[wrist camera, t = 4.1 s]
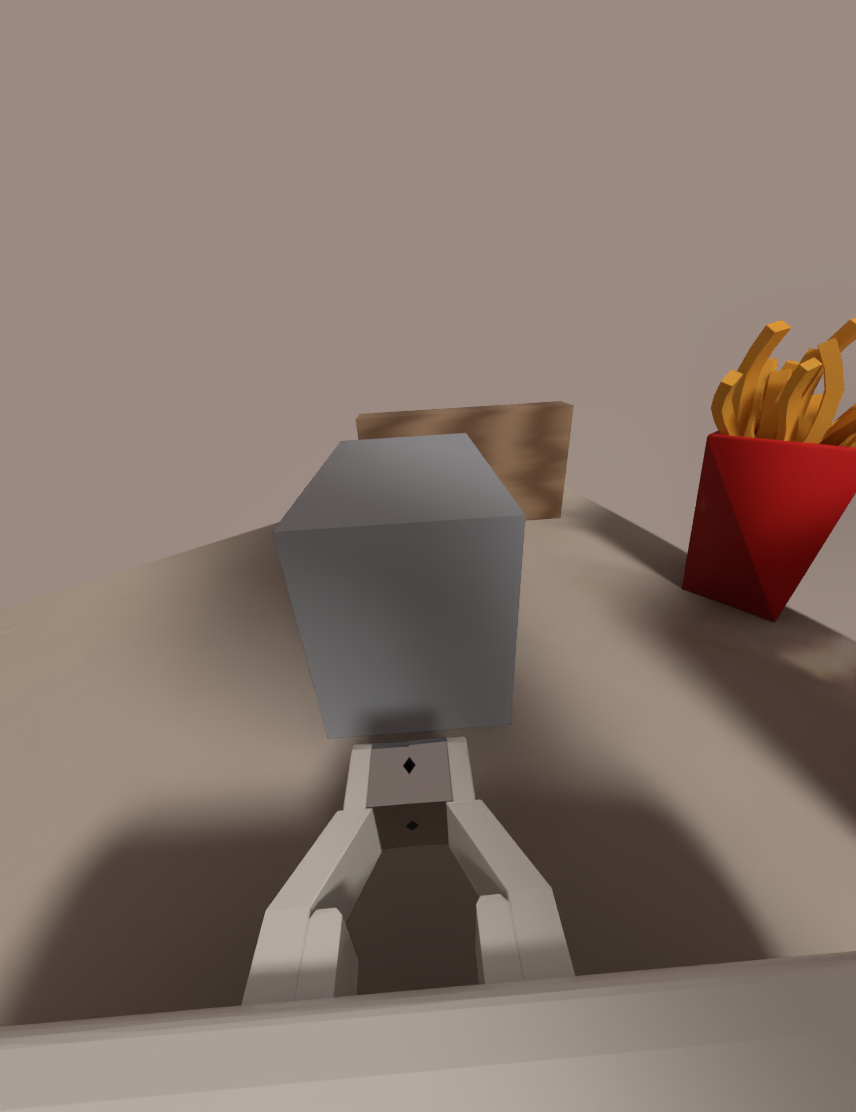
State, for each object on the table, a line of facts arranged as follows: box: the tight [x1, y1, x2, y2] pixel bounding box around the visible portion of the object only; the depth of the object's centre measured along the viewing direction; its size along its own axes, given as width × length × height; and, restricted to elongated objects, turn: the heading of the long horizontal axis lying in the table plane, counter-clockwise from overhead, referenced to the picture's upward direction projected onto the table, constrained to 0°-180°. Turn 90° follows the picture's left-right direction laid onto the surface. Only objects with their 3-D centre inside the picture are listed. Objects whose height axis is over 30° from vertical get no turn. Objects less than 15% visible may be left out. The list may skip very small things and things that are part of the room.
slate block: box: [272, 433, 525, 739], centre depth 21 cm, size 8×14×10 cm, turn 3°
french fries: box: [682, 318, 856, 622], centre depth 20 cm, size 9×8×15 cm
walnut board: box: [356, 401, 573, 520], centre depth 35 cm, size 18×3×10 cm, turn 93°
